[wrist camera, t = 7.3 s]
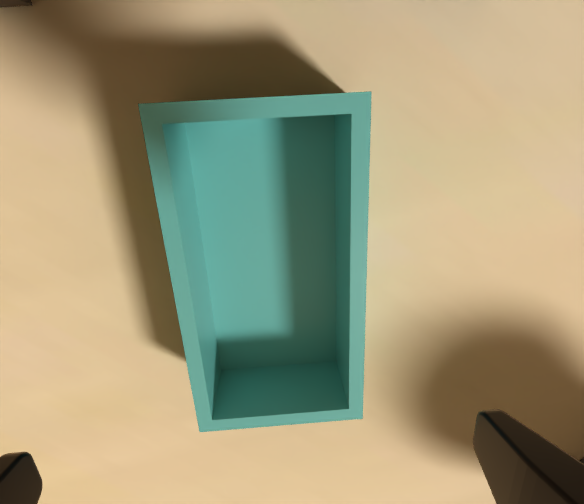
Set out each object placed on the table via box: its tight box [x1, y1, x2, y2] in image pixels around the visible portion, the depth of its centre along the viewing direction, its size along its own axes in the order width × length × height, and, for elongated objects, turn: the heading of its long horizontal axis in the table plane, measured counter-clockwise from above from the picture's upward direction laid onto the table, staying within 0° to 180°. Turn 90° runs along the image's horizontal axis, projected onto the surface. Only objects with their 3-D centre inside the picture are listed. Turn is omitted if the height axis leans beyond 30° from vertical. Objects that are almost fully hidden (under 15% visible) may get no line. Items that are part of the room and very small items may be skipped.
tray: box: [138, 92, 371, 432], centre depth 15 cm, size 7×13×4 cm, turn 3°
